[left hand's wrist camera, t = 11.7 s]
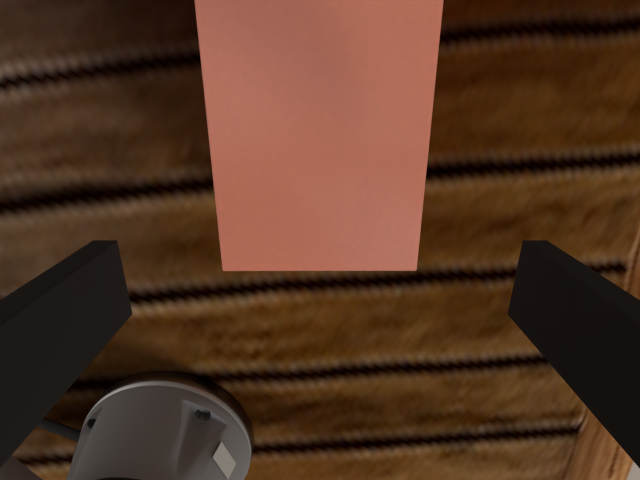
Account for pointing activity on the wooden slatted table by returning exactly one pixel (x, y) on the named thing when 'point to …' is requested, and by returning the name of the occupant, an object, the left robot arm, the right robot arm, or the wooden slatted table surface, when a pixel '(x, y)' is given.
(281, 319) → the wooden slatted table surface
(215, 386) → the left robot arm
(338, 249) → the cabinet
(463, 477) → the wooden slatted table surface
